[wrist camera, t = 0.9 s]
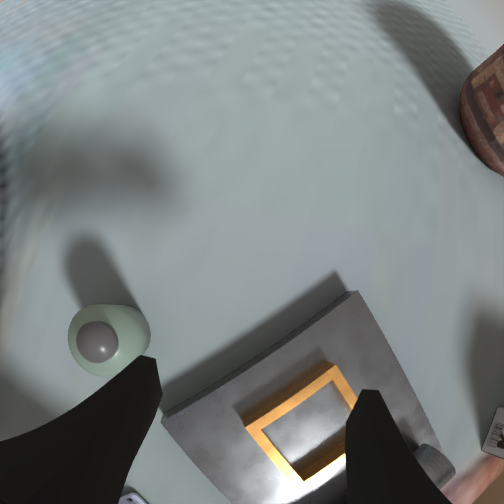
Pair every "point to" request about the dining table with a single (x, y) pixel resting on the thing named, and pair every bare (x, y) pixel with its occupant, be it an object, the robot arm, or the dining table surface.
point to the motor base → (301, 413)
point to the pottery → (485, 110)
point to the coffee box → (496, 435)
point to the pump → (107, 338)
